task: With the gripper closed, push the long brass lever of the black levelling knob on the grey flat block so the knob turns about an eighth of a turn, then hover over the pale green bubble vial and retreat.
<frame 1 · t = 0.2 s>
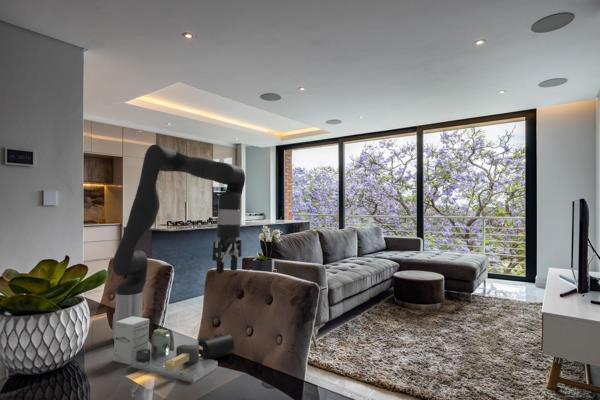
hand: (227, 271, 112), 29 cm above the table, fingers open, 8 cm apart
grey flat block: (174, 367, 104), on the table
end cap: (215, 358, 112), on the table
level knob: (182, 358, 100), point 4 cm above the table, hinge at 0.0°
supplement box: (130, 359, 109), on the table
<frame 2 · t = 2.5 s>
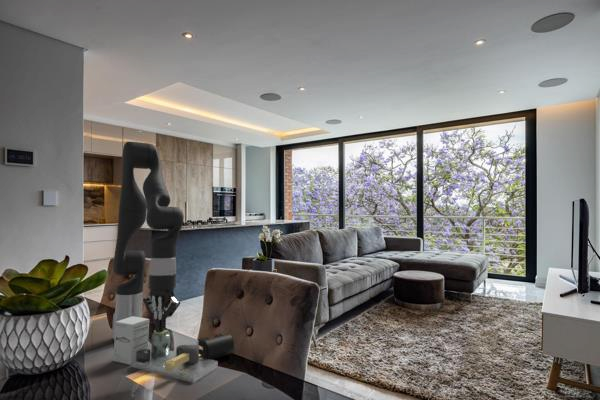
hand: (160, 331, 100), 12 cm above the table, fingers closed
nothing on the table moved.
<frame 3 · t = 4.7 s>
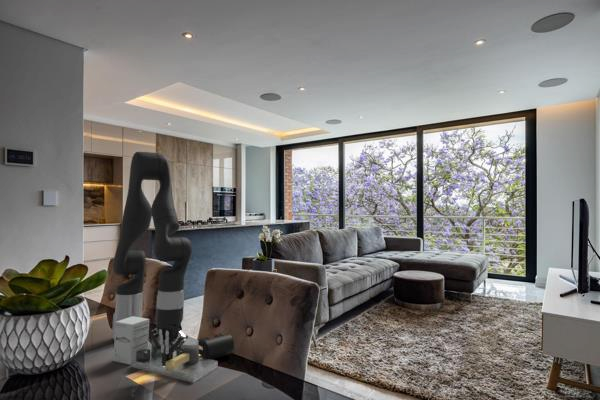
hand: (167, 365, 98), 3 cm above the table, fingers closed
level knob: (182, 358, 100), point 4 cm above the table, hinge at 0.8°, touching gripper
everything else where it was.
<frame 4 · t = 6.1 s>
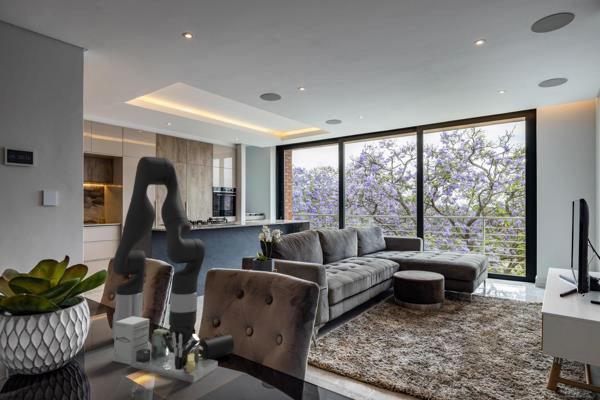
hand: (180, 368, 97), 3 cm above the table, fingers closed
level knob: (191, 359, 100), point 4 cm above the table, hinge at 39.6°, touching gripper
everything else where it was.
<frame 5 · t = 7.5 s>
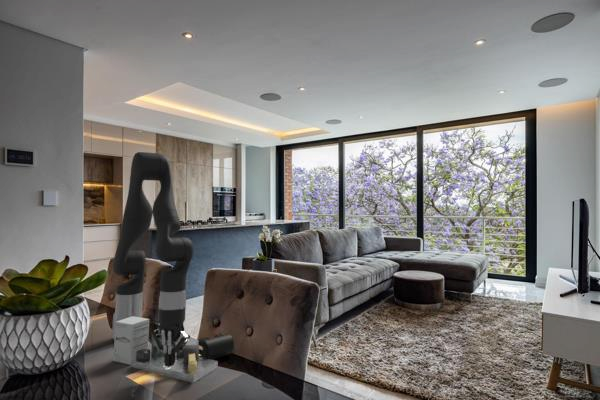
hand: (169, 365, 98), 3 cm above the table, fingers closed
level knob: (191, 359, 100), point 4 cm above the table, hinge at 42.8°
everything else where it was.
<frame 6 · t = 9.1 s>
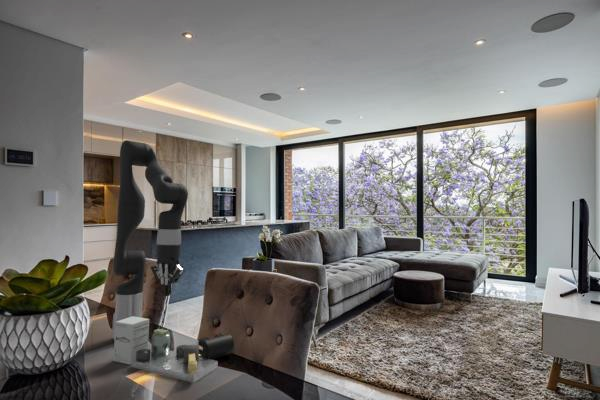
hand: (166, 295, 110), 21 cm above the table, fingers closed
nothing on the table moved.
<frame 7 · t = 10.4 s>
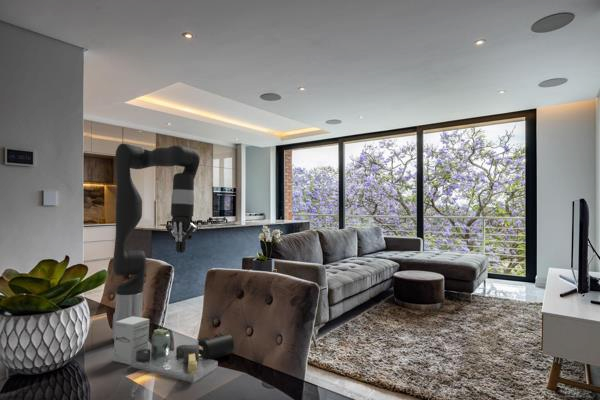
hand: (180, 252, 118), 34 cm above the table, fingers closed
nothing on the table moved.
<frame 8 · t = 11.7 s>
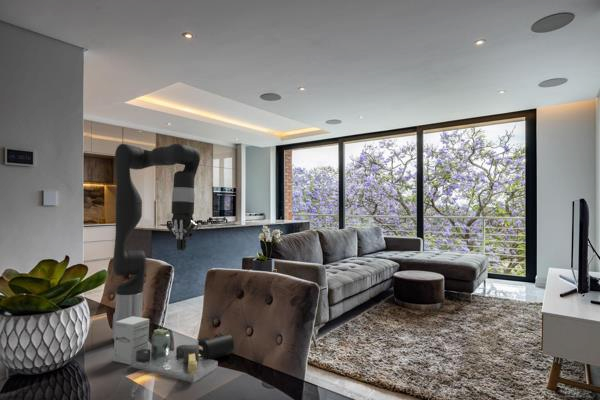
hand: (181, 250, 118), 35 cm above the table, fingers closed
nothing on the table moved.
at the end: level knob at +43° (first picture: +0°); level knob touching nothing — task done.
